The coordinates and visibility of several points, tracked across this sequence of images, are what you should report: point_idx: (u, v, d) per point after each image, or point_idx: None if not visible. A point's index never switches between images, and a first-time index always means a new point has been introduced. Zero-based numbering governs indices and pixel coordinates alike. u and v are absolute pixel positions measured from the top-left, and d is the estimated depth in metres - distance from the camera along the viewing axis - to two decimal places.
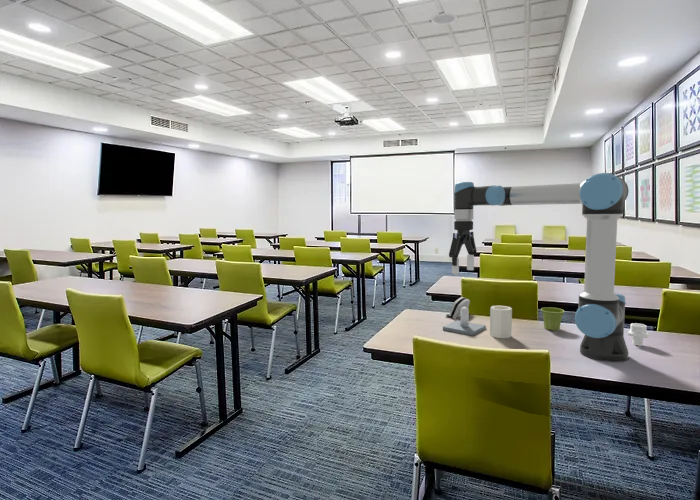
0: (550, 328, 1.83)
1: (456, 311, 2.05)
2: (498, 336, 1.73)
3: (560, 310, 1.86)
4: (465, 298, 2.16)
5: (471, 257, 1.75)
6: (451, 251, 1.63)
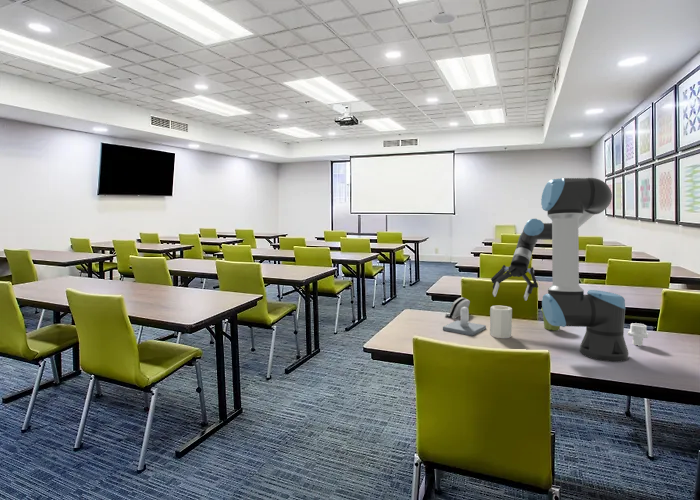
0: (550, 328, 1.83)
1: (455, 311, 2.05)
2: (498, 336, 1.73)
3: None
4: (465, 298, 2.15)
5: None
6: None
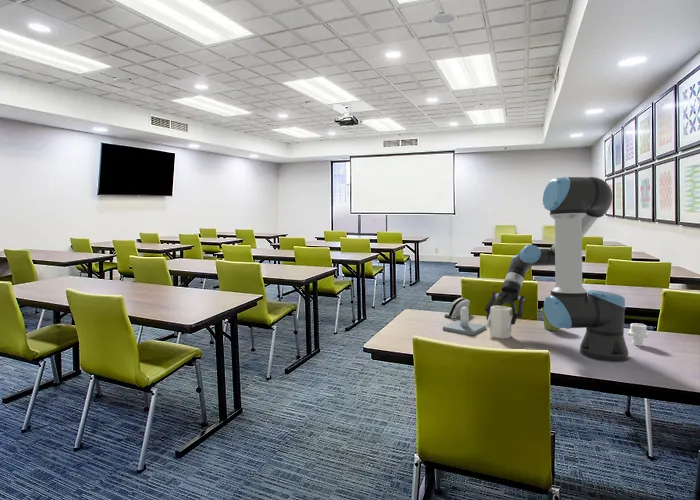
0: (550, 328, 1.83)
1: (454, 311, 2.04)
2: (498, 336, 1.73)
3: None
4: (465, 299, 2.15)
5: None
6: None
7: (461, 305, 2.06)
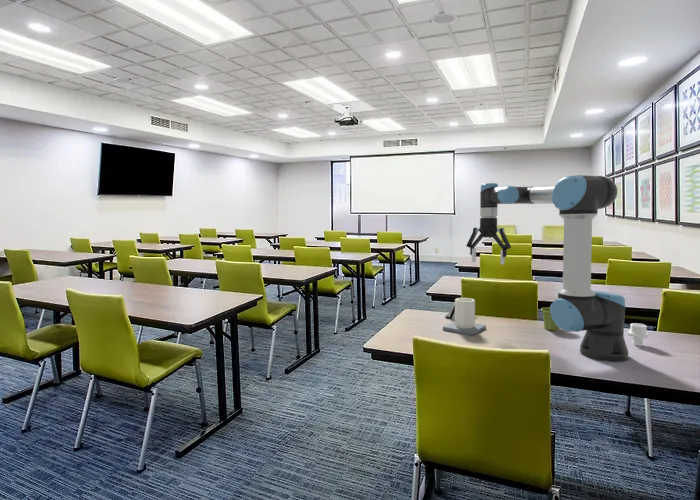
0: (550, 328, 1.83)
1: None
2: (461, 326, 1.82)
3: None
4: None
5: None
6: None
7: None
